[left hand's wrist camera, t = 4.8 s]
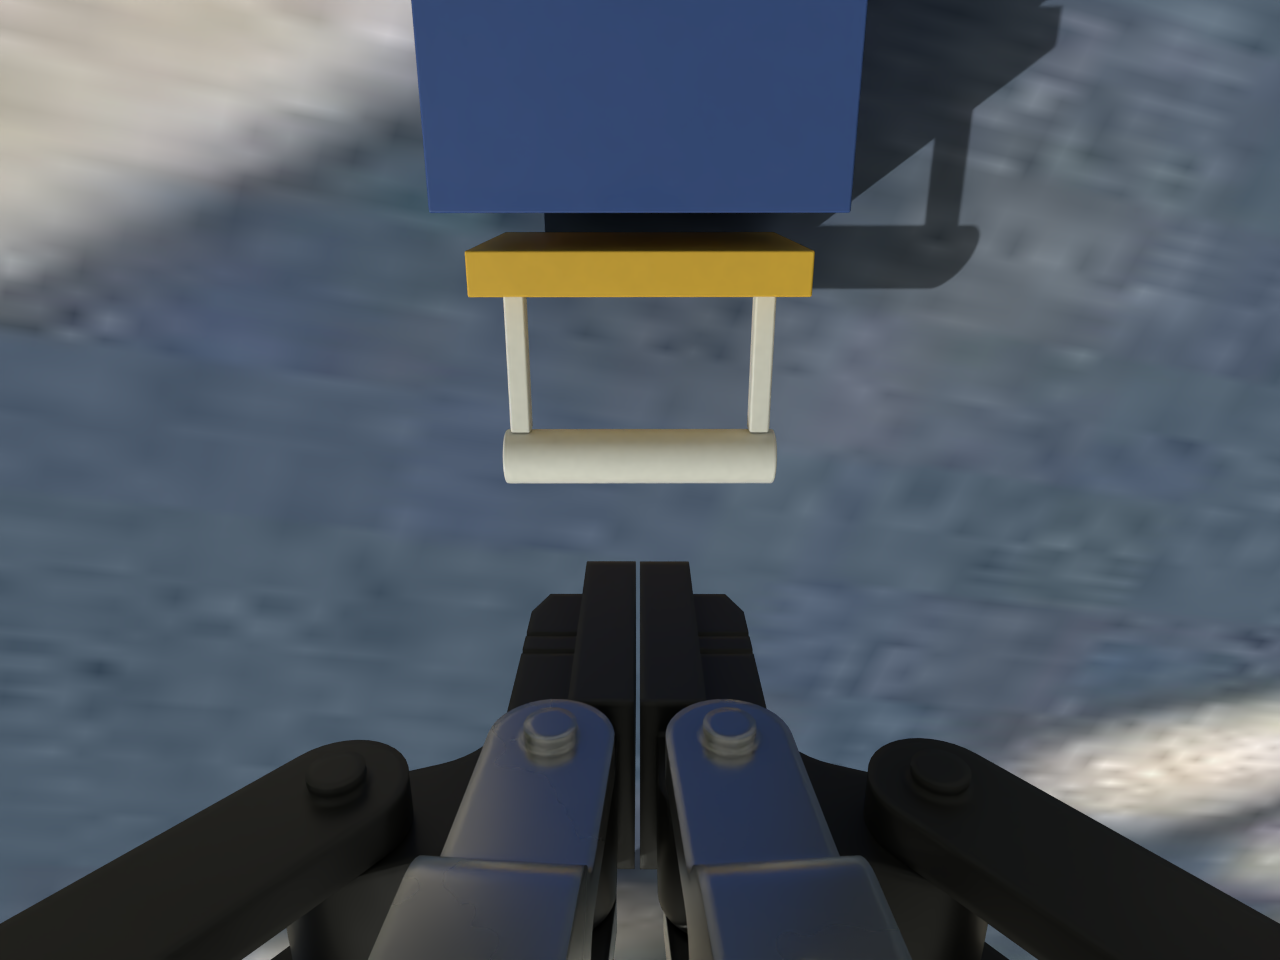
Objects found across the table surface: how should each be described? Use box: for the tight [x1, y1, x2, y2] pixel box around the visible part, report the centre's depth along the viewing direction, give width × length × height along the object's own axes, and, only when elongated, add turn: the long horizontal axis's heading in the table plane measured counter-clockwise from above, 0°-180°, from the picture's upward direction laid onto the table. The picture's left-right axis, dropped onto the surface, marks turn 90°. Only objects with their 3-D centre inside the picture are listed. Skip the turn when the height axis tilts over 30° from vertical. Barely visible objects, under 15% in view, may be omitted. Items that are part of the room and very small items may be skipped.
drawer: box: [465, 232, 815, 483], centre depth 24 cm, size 22×9×7 cm, turn 0°
